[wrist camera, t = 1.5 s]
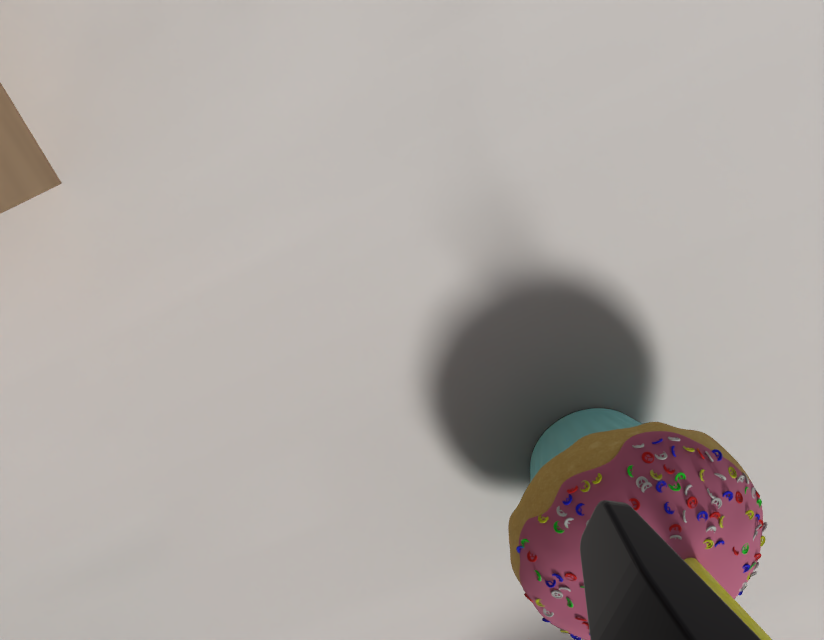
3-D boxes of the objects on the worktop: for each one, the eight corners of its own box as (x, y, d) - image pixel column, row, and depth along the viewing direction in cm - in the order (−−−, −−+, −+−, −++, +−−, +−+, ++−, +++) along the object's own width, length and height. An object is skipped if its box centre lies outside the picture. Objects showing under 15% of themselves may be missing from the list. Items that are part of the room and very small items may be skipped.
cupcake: (546, 336, 23) (729, 600, 12) (731, 403, 25) (1030, 680, 14) (451, 513, 26) (529, 855, 15) (623, 560, 28) (803, 892, 17)
